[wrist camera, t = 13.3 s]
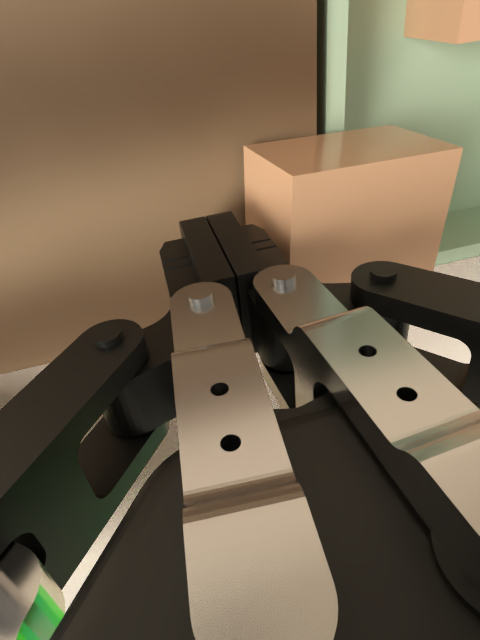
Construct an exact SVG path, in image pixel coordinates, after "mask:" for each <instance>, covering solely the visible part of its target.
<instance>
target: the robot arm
mask: <svg viewBox="0 0 480 640" xmlns="http://www.w3.org/2000/svg"><path fill="white" fill-rule="evenodd" d="M179 227H180V232H181V237H182V238H181V239H177V240H172V241H167V242H164V244H163V246H162V248H161V249H160V251H159V253H160V258H161V262H162V266H163V271H164V275H165V279H166V284H167V288H168V292H169V297H170V310H169V311H168V313H167V314H166V315H165V316H164V317H163V318H161V319H160V320H159V321H157V322H156V323H154V324H152V325H150V326H148V327H145V328H143V329H142V328H141V326H140V325H139V324H137V323H136V322H134V321H131V320H127V319H113V320H108V321H104V322H101V323H98V324H96V325H94V326H92V327H90V328H89V329H87V330H86V331H84V332H83V333H82V334H81V335H80V336H79V337H78V338H77V339H76V340H75V341H74V342H72V343H71V344H70V345H69V346H68V347H67V348H66V349H65V350H64V351H63V352H62V353H61V354H60V355H59V356H57V357H56V358H55V359H54V360H53V361H52V362H51V363H50V364H49V365H48V366H47V367H46V368H45V369H44V370H43V371H41V372H40V373H39V374H38V375H37V376H36V377H35V378H34V379H33V380H32V381H31V382H30V383H29V384H28V385H26V386H25V387H24V388H23V389H22V390H21V391H20V392H19V393H18V394H17V395H16V396H15V397H14V398H13V399H11V400H10V401H9V402H8V403H7V404H6V405H5V406H4V407H3V408H2V409H1V410H0V640H480V282H475V281H471V280H467V279H463V278H459V277H454V276H450V275H446V274H442V273H438V272H433V271H429V270H425V269H421V268H417V267H412V266H408V265H404V264H400V263H396V262H391V261H372V262H367V263H364V264H361V265H359V266H357V267H356V268H355V269H354V270H353V271H352V274H351V283H321V282H320V281H319V280H318V279H317V278H316V277H315V276H314V275H313V274H312V273H311V272H310V271H309V270H307V269H305V268H303V267H300V266H296V265H290V264H289V262H288V261H287V259H286V258H285V257H284V255H283V254H282V253H281V251H280V250H279V249H278V247H276V244H275V243H274V242H273V240H271V238H270V236H269V235H268V234H267V232H266V231H265V230H264V229H262V228H260V227H258V226H256V225H254V224H249V225H244V226H241V225H240V224H239V222H238V221H237V219H236V218H235V216H234V215H233V213H232V212H231V211H228V212H223V213H218V214H213V215H208V216H206V217H205V216H203V217H198V218H193V219H188V220H183V221H179ZM409 324H410V325H413V326H417V327H420V328H423V329H426V330H430V331H433V332H436V333H439V334H443V335H446V336H449V337H452V338H456V339H458V340H460V341H462V342H463V343H465V344H466V345H467V346H468V348H469V349H470V351H471V361H470V364H464V363H460V362H457V361H454V360H451V359H448V358H445V357H442V356H439V355H436V354H433V353H430V352H427V351H424V350H421V349H418V348H415V347H413V346H412V345H411V344H410V343H409V342H407V336H408V330H409ZM256 352H258V353H259V355H260V359H261V370H262V373H261V370H260V367H259V364H258V361H257V358H256V355H255V353H256ZM262 375H263V376H262ZM263 377H264V379H265V381H266V382H267V384H268V386H269V388H270V389H271V391H272V393H273V395H274V396H275V398H276V400H277V402H278V403H279V405H280V407H281V409H273V407H272V404H271V401H270V398H269V395H268V392H267V389H266V386H265V383H264V380H263ZM102 414H103V418H102V419H101V420H100V421H99V422H98V424H97V425H96V426H95V427H94V428H93V430H92V431H91V432H90V433H89V434H88V436H87V437H86V438H85V439H84V440H83V442H82V443H81V444H80V442H81V440H82V438H83V437H84V435H85V434H86V433H87V432H88V430H89V429H90V428H91V427H92V426H93V424H94V423H95V422H96V421H97V420H98V419H99V417H100V416H101V415H102ZM175 417H177V429H178V440H179V450H178V451H176V452H175V453H173V454H172V455H171V456H170V457H168V458H167V459H166V460H165V461H164V462H163V463H162V464H161V465H160V466H159V467H158V468H157V469H156V470H155V471H154V472H153V473H152V474H151V476H150V477H149V478H148V479H147V481H146V482H145V484H144V485H143V487H142V488H141V490H140V491H139V493H138V495H137V496H136V498H135V500H134V501H133V503H132V504H131V506H130V508H129V509H128V511H127V513H126V514H125V516H124V518H123V519H122V521H121V523H120V524H119V526H118V528H117V529H116V531H115V532H114V534H113V536H112V537H111V539H110V541H109V542H108V544H107V546H106V547H105V549H104V551H103V552H102V554H101V555H100V557H99V559H98V560H97V562H96V564H95V565H94V567H93V569H92V570H91V572H90V574H89V575H88V577H87V579H86V580H85V582H84V583H83V585H82V587H81V588H80V590H79V592H78V593H77V595H76V597H75V598H74V600H73V602H72V603H71V605H70V606H69V608H68V610H67V611H66V613H65V601H64V596H63V593H62V591H61V590H62V589H63V587H64V586H65V584H66V583H67V581H68V580H69V578H70V577H71V575H72V574H73V572H74V571H75V570H76V568H77V567H78V565H79V564H80V562H81V561H82V559H83V558H84V556H85V555H86V553H87V552H88V550H89V549H90V547H91V546H92V544H93V543H94V541H95V540H96V538H97V537H98V535H99V534H100V532H101V531H102V529H103V528H104V526H105V525H106V523H107V522H108V520H109V519H110V517H111V516H112V515H113V513H114V512H115V510H116V509H117V507H118V506H119V504H120V503H121V501H122V500H123V498H124V497H125V495H126V494H127V492H128V491H129V489H130V488H131V486H132V485H133V483H134V482H135V480H136V479H137V477H138V476H139V474H140V473H141V471H142V470H143V468H144V467H145V465H146V464H147V463H148V461H149V460H150V458H151V457H152V455H153V454H154V452H155V451H156V449H157V448H158V446H159V445H160V443H161V442H162V440H163V439H164V437H165V436H166V434H167V432H168V429H169V421H170V420H171V419H173V418H175ZM64 614H65V615H64Z"/></svg>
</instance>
